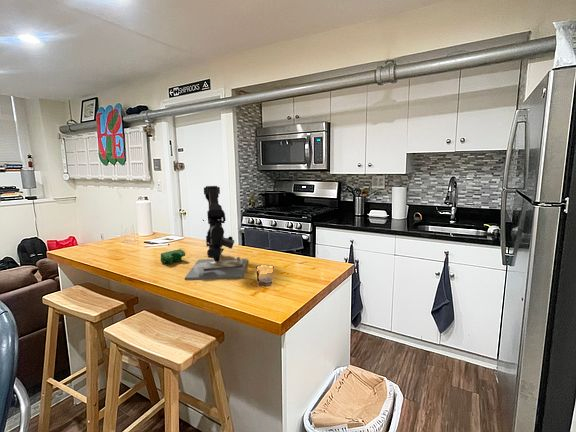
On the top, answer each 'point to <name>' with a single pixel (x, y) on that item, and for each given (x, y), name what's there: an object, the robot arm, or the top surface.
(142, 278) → the top surface
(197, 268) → the block
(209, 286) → the top surface
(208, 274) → the board
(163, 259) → the clamp
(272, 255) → the top surface
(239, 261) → the link
